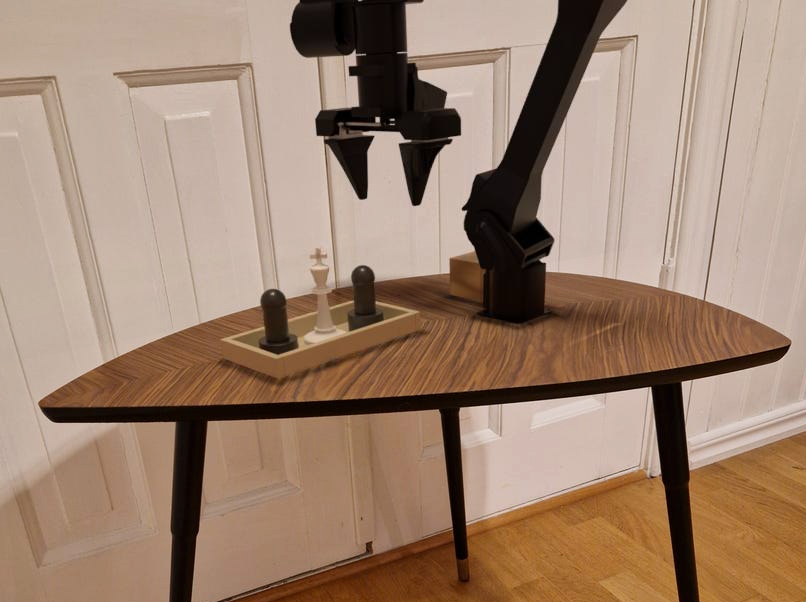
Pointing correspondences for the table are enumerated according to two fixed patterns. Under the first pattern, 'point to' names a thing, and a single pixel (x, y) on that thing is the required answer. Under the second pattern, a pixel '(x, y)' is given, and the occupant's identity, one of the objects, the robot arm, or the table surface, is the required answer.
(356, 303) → the pawn
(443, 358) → the table surface
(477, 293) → the maple block
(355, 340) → the tray
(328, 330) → the chess piece
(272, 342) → the pawn
